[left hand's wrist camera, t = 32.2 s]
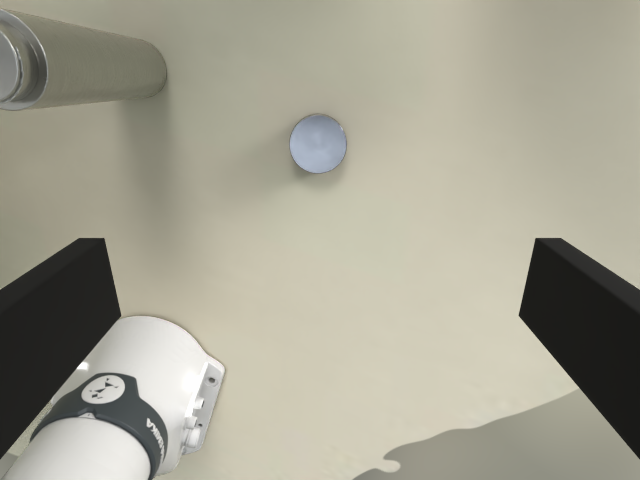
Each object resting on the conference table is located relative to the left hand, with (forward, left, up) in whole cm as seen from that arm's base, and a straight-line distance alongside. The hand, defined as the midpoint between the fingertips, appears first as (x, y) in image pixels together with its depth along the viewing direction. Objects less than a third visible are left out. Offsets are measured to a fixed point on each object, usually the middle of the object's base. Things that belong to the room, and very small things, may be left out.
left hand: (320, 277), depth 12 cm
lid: (0, 0, -29) cm, 29 cm away
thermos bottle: (-3, -18, -30) cm, 35 cm away
